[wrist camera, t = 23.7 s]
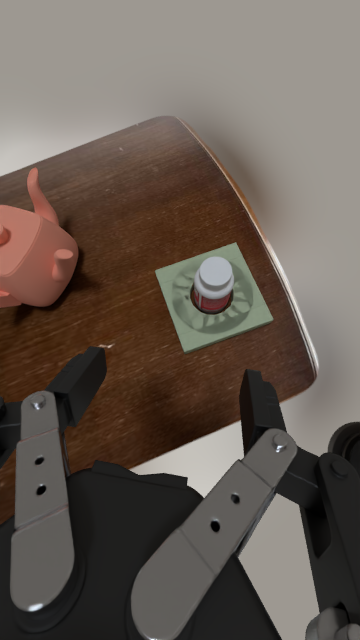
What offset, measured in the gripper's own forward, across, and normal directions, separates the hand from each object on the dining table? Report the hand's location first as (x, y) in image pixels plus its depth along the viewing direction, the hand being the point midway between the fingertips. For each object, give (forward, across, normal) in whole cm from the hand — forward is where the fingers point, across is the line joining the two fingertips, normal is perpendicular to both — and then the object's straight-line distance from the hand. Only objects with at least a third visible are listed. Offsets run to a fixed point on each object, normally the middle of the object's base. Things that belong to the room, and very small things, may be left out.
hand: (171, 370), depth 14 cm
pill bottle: (+32, -2, +9) cm, 33 cm away
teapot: (+33, +30, +8) cm, 45 cm away
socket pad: (+31, -2, +9) cm, 33 cm away
